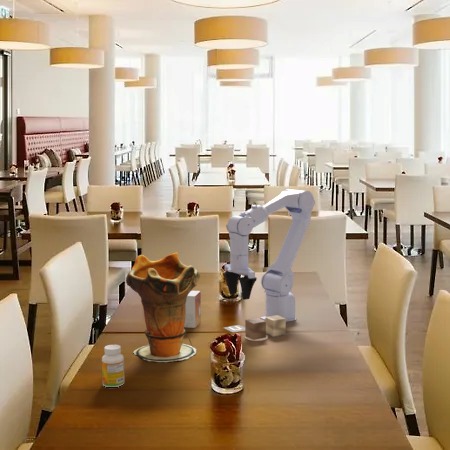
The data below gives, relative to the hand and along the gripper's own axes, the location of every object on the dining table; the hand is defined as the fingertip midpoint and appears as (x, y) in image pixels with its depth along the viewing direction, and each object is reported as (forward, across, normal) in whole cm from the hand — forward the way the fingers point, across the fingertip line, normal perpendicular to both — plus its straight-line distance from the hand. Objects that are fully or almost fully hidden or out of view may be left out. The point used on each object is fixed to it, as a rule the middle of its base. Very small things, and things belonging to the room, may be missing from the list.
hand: (239, 296), depth 219 cm
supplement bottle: (+10, +24, -53) cm, 59 cm away
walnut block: (+10, +12, -2) cm, 15 cm away
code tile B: (+10, +12, +6) cm, 16 cm away
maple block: (+10, +12, +6) cm, 16 cm away
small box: (+10, -12, -11) cm, 19 cm away
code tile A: (+10, 0, -2) cm, 10 cm away
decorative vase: (+10, +9, -31) cm, 34 cm away
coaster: (+10, +12, -1) cm, 15 cm away
